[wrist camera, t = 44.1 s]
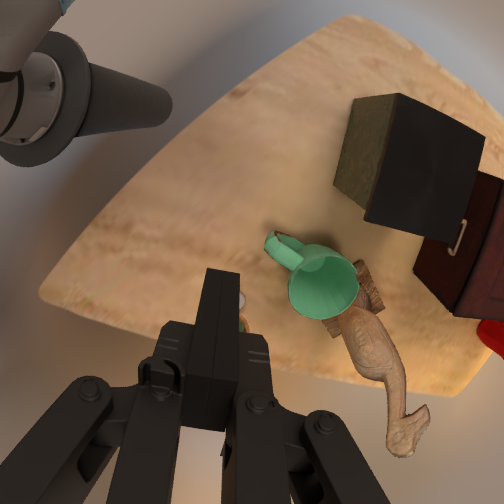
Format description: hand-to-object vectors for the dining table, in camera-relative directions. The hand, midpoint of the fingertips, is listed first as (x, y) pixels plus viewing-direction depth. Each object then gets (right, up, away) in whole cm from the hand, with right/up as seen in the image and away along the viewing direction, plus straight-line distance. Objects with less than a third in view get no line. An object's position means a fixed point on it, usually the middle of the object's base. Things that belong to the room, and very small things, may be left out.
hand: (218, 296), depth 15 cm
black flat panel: (+22, +11, +16) cm, 29 cm away
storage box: (+49, +4, +35) cm, 60 cm away
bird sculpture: (+18, -6, +39) cm, 43 cm away
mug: (+9, +3, +35) cm, 36 cm away
